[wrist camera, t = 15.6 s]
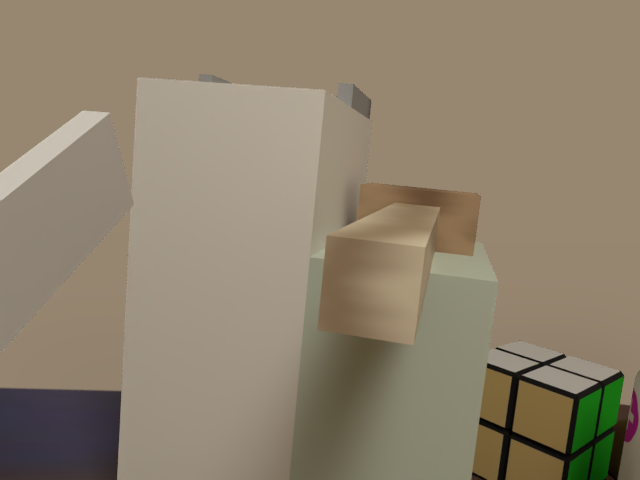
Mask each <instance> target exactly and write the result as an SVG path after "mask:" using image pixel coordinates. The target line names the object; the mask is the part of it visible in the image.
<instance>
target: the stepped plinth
mask: <svg viewBox="0 0 640 480" xmlns="http://www.w3.org/2000/svg"><path fill="white" fill-rule="evenodd" d="M370 108H371V100H370V99H369V98H368V97H367V96H366V95H365V94H364V93H363V92H361V91H360V90H359V89H358V88H357V87H356V86H355V85H354V84H342V83H339V86H338V96H337V97H335V96H334V95H332V94H331V93H329V92H328V91H326V90H318V89H302V88H288V87H273V86H258V85H243V84H232V83H230V82H228V81H225V80H223V79H221V78H218V77H215V76H213V75H201V74H200V75H199V81H184V80H170V79H155V78H139V77H138V78H137V96H136V116H135V135H134V156H133V175H132V198H133V201H134V205H133V206H132V207H131V215H130V236H129V254H128V275H127V294H126V314H125V334H124V354H123V375H122V393H121V413H120V433H119V453H118V472H117V480H471V477H472V469H473V462H474V455H475V448H476V440H477V433H478V426H479V419H480V411H481V404H482V397H483V390H484V382H485V375H486V368H487V360H488V353H489V346H490V338H491V331H492V324H493V317H494V309H495V302H496V295H497V288H498V280H497V278H496V275H495V273H494V271H493V268H492V266H491V264H490V261H489V259H488V257H487V254H486V252H485V250H484V247H483V245H482V243H481V242H475V246H474V253H473V256H466V255H458V254H449V253H441V252H435V254H434V258H433V263H432V267H431V271H430V276H429V280H428V285H427V289H426V293H425V298H424V302H423V307H422V311H421V316H420V320H419V324H418V329H417V333H416V338H415V342H414V345H408V344H402V343H396V342H389V341H383V340H377V339H370V338H364V337H358V336H351V335H345V334H339V333H332V332H326V331H320V330H317V329H318V318H319V308H320V298H321V287H322V277H323V267H324V256H325V246H326V235H328V234H330V233H332V232H335V231H337V230H339V229H341V228H343V227H345V226H347V225H349V224H351V223H353V222H356V221H357V213H358V203H359V194H360V184H365V182H366V173H367V163H368V153H369V144H370V134H371V124H372V121H371V120H369V118H370V117H369V116H370Z"/></svg>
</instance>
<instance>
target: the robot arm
mask: <svg viewBox="0 0 640 480" xmlns="http://www.w3.org/2000/svg"><path fill="white" fill-rule="evenodd" d="M133 205H134V201H133V198H132V194H131V190H130V186H129V183H128V179H127V175H126V171H125V167H124V164H123V160H122V156H121V152H120V149H119V145H118V141H117V137H116V134H115V130H114V126H113V122H112V119H111V115H110V113H106V112H94V111H82V112H81V113H79V114H78V115H77V116H75V117H74V118H73V119H71V120H70V121H69V122H68V123H66V124H65V125H63V126H62V127H61V128H60V129H58V130H57V131H55V132H54V133H53V134H51V135H50V136H49V137H47V138H46V139H44V140H43V141H42V142H40V143H39V144H38V145H37V146H35V147H34V148H32V149H31V150H30V151H28V152H27V153H26V154H24V155H23V156H22V157H20V158H19V159H18V160H16V161H15V162H14V163H12V164H11V165H10V166H8V167H7V168H6V169H4V170H3V171H2V172H1V173H0V353H1V352H2V351H3V350H4V349H5V348H6V347H7V345H8V344H9V343H10V342H11V341H12V340H13V339H14V338H15V336H16V335H17V334H18V333H19V332H20V331H21V330H22V329H23V328H24V327H25V325H26V324H27V323H28V322H29V321H30V320H31V319H32V318H33V316H34V315H35V314H36V313H37V312H38V311H39V310H40V309H41V307H42V306H43V305H44V304H45V303H46V302H47V301H48V300H49V299H50V298H51V296H52V295H53V294H54V293H55V292H56V291H57V290H58V289H59V288H60V286H61V285H62V284H63V283H64V282H65V281H66V280H67V279H68V278H69V276H70V275H71V274H72V273H73V272H74V271H75V270H76V269H77V267H78V266H79V265H80V264H81V263H82V262H83V261H84V260H85V259H86V257H87V256H88V255H89V254H90V253H91V252H92V251H93V250H94V248H95V247H96V246H97V245H98V244H99V243H100V242H101V241H102V239H104V237H105V236H106V235H107V234H108V233H109V232H110V231H111V230H112V228H113V227H114V226H115V225H116V224H117V223H118V222H119V221H120V219H121V218H122V217H123V216H124V215H125V214H126V213H127V212H128V211H129V210H130V208H131V207H132V206H133Z"/></svg>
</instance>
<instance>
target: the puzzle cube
mask: <svg viewBox="0 0 640 480" xmlns="http://www.w3.org/2000/svg"><path fill="white" fill-rule="evenodd" d="M623 380H624V375H623V373H622V372H621V371H619V370H616V369H612V368H609V367H605V366H602V365H599V364H596V363H592V362H589V361H586V360H583V359H579V358H576V357H573V356H569V357H567V358H566V356H565V355H564V354H563V353H559V352H556V351H553V350H550V349H546V348H543V347H540V346H537V345H533V344H530V343H527V342H523V341H517V342H514V343H510V344H507V345H503V346H500V347H497V348H496V349H490V350H489V353H488V360H487V368H486V375H485V382H484V390H483V397H482V404H481V411H480V419H479V426H478V433H477V440H476V448H475V455H474V462H473V469H472V473H473V474H475V475H477V476H479V477H480V478H482V479H484V480H604V479H606V478H607V474H608V469H609V463H610V457H611V451H612V445H613V439H614V434H615V430H614V428H613V427H612V426H614V425H615V424H616V422H617V416H618V410H619V404H620V398H621V392H622V386H623Z"/></svg>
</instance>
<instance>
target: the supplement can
mask: <svg viewBox="0 0 640 480" xmlns="http://www.w3.org/2000/svg"><path fill="white" fill-rule="evenodd" d="M618 480H640V371H639V372H638V373H637V375H636V378H635V383H634V388H633V394H632V399H631V405H630V411H629V417H628V423H627V428H626V434H625V440H624V446H623V451H622V457H621V463H620V469H619V474H618Z"/></svg>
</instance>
